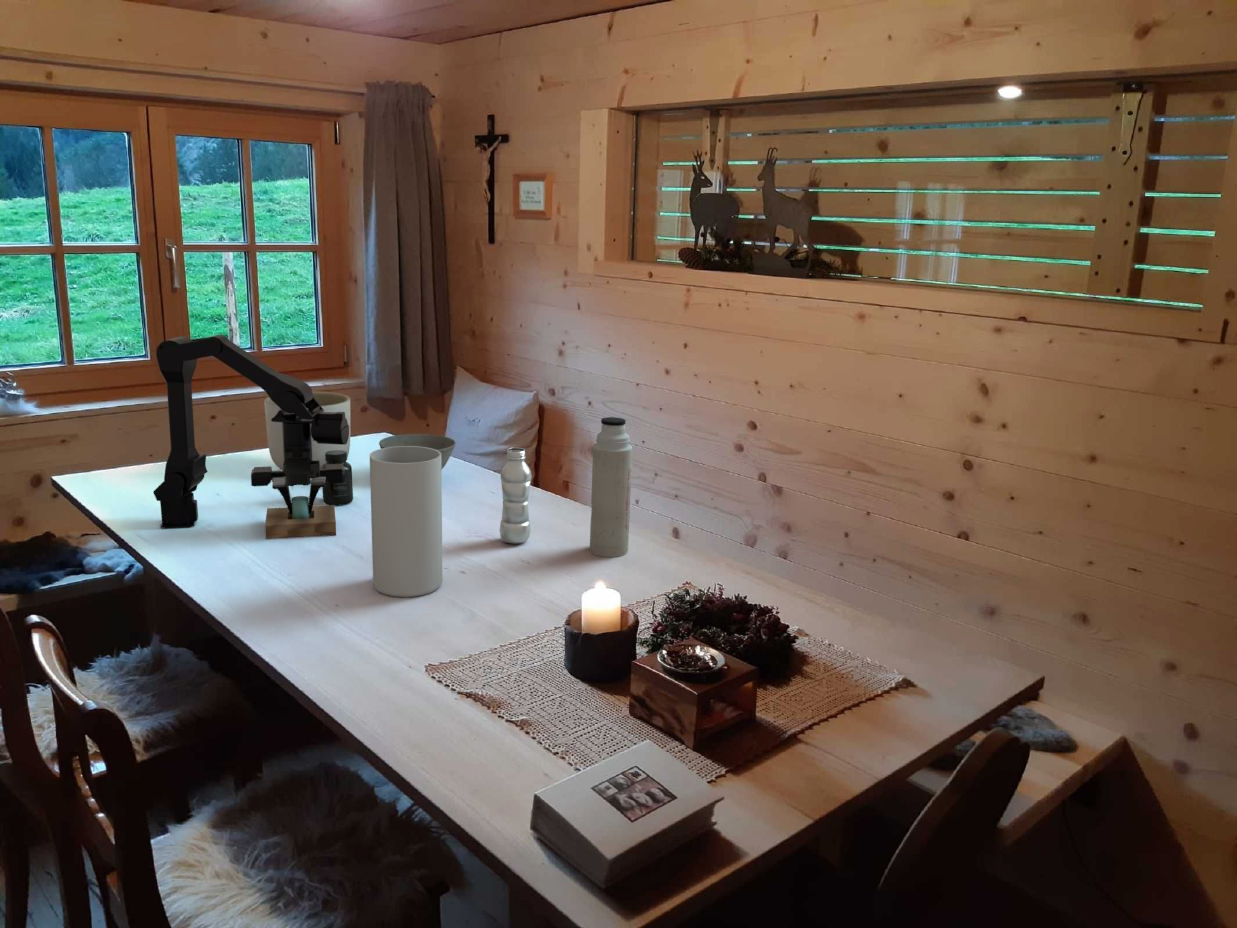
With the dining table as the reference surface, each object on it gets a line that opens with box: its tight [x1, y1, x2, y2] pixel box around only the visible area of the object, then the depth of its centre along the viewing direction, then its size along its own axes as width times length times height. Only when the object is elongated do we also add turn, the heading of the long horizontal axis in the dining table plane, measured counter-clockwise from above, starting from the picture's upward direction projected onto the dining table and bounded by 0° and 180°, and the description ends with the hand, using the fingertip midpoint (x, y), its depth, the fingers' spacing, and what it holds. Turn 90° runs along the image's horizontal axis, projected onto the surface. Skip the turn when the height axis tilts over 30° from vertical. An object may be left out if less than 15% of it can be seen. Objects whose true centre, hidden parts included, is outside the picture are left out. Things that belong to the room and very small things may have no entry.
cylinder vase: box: [369, 446, 443, 598], centre depth 176 cm, size 12×12×25 cm
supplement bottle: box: [321, 450, 354, 507], centre depth 225 cm, size 7×7×12 cm
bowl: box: [378, 433, 457, 470], centre depth 246 cm, size 19×19×10 cm
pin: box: [291, 495, 309, 519], centre depth 207 cm, size 3×3×5 cm
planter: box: [264, 390, 351, 471], centre depth 249 cm, size 21×21×19 cm
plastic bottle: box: [499, 447, 532, 544], centre depth 202 cm, size 6×7×20 cm
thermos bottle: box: [589, 416, 633, 558], centre depth 198 cm, size 8×8×28 cm
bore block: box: [264, 504, 337, 540], centre depth 208 cm, size 14×12×3 cm
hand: (300, 513), depth 207 cm, fingers closed on pin, 3 cm apart
